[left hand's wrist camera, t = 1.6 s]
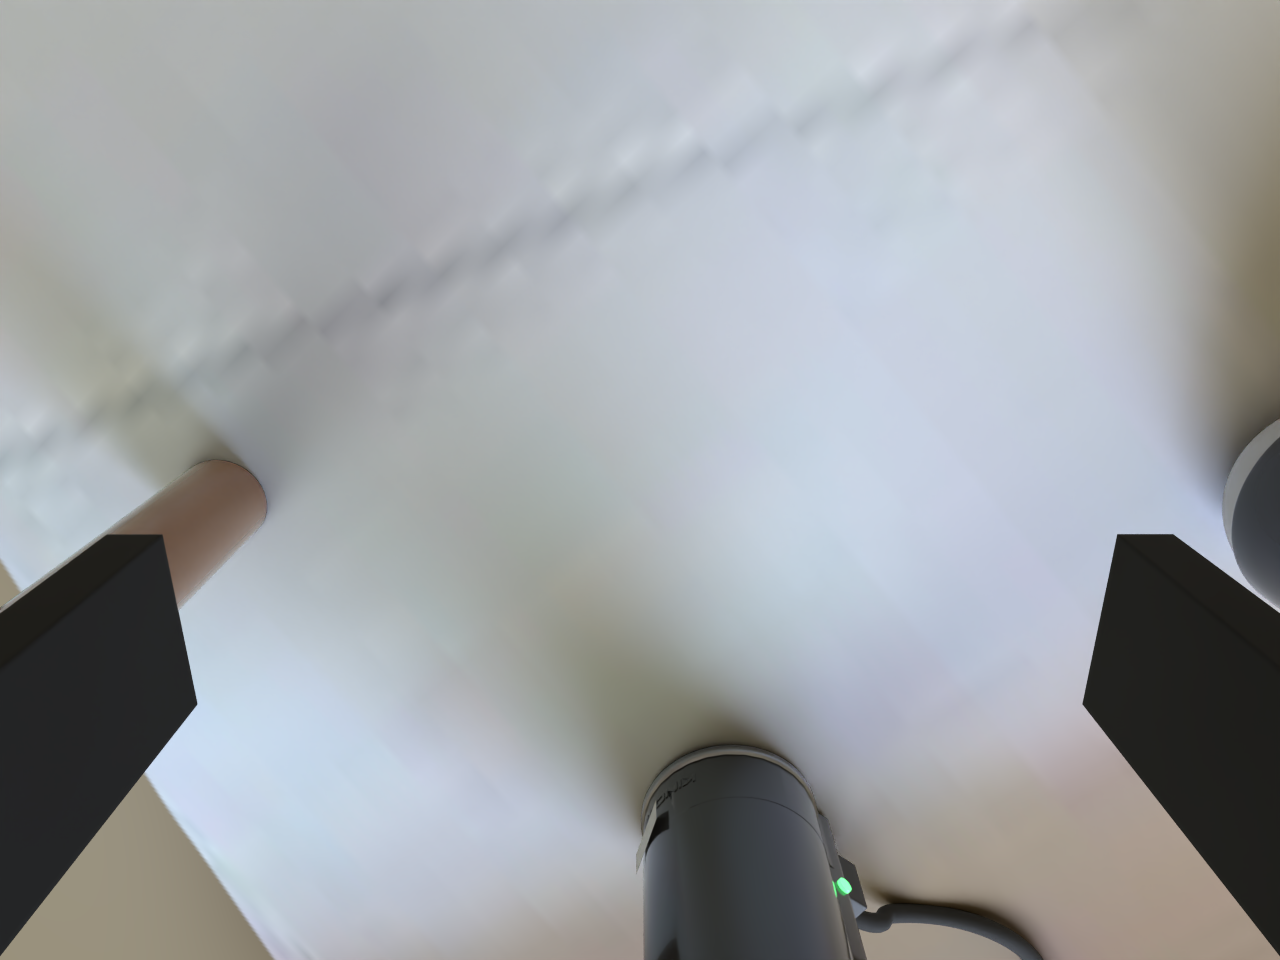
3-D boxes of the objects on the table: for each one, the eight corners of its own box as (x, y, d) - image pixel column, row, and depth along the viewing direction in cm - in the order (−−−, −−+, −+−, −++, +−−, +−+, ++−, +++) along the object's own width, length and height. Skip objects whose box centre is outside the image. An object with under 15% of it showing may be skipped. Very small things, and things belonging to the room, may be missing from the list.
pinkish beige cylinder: (186, 538, 43) (-125, 811, 25) (173, 458, 41) (-166, 688, 24) (272, 541, 43) (20, 816, 26) (262, 460, 41) (-12, 693, 24)
